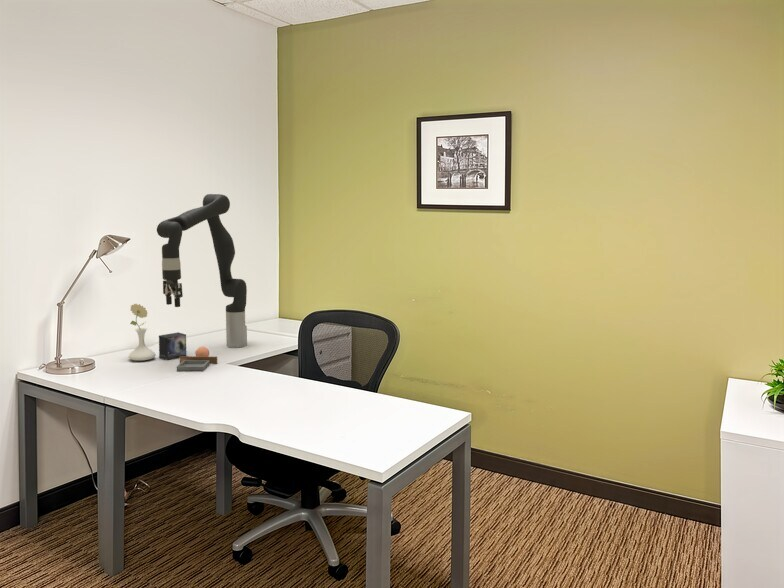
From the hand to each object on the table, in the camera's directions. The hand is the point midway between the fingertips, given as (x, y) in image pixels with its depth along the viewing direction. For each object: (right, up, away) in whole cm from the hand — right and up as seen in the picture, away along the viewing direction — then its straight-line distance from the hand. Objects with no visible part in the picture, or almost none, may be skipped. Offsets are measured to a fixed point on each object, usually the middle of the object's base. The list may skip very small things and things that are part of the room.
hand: (173, 305), depth 276 cm
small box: (-5, -24, +14) cm, 28 cm away
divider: (+10, -25, +3) cm, 27 cm away
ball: (+10, -24, +10) cm, 28 cm away
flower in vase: (-18, -24, +10) cm, 32 cm away
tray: (+10, -26, -5) cm, 29 cm away
